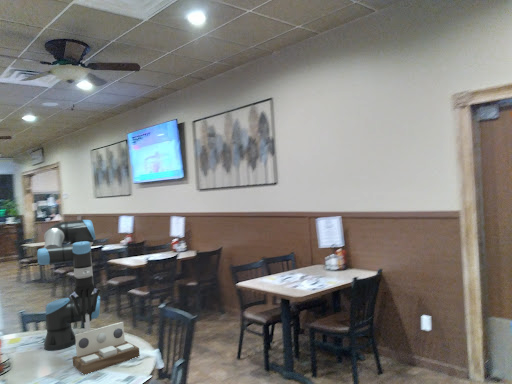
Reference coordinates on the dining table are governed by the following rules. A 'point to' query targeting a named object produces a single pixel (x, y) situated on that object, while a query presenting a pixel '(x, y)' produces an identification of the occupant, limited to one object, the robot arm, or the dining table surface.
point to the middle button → (107, 351)
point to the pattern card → (99, 339)
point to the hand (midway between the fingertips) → (87, 328)
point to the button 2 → (125, 347)
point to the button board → (105, 360)
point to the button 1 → (89, 358)
